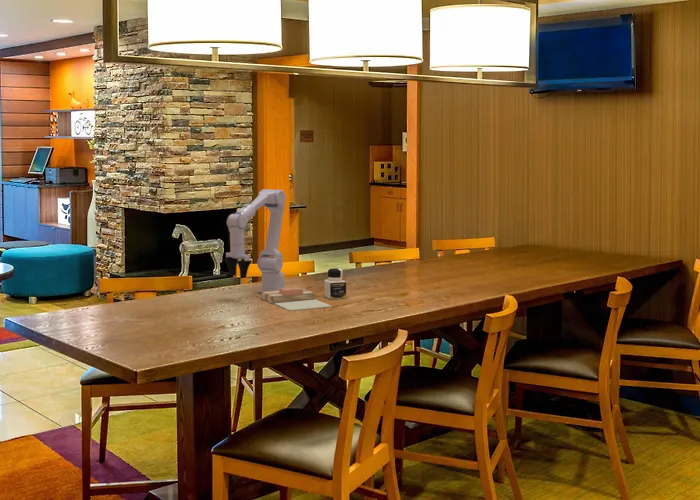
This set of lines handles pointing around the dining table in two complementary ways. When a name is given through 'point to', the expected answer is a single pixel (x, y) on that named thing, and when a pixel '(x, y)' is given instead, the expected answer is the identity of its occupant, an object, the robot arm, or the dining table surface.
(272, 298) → the block
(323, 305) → the mat
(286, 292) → the block
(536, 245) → the dining table surface
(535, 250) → the dining table surface
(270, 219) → the robot arm
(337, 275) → the medicine bottle
